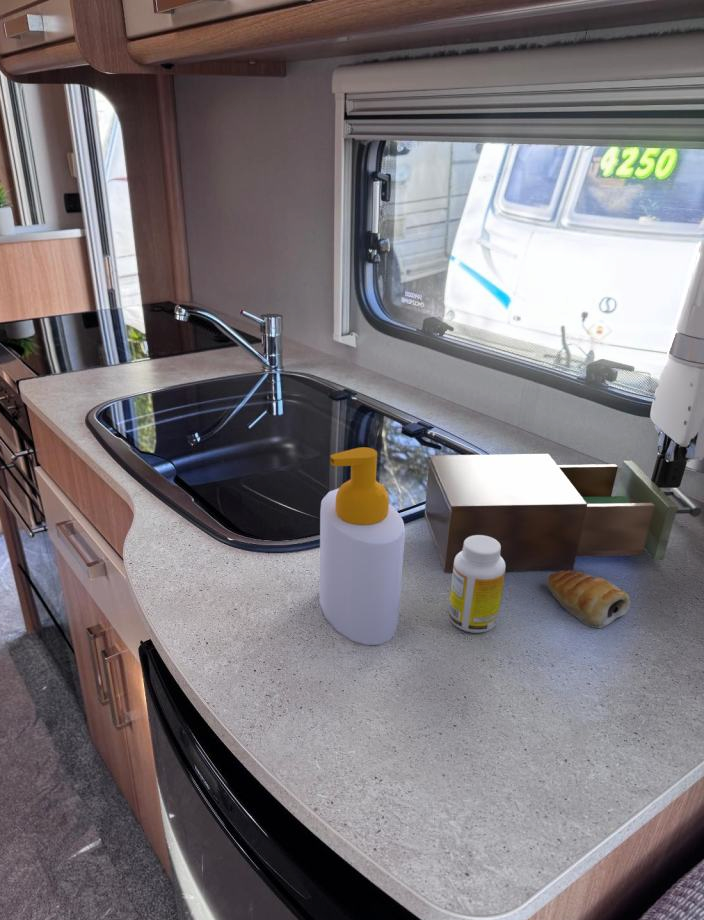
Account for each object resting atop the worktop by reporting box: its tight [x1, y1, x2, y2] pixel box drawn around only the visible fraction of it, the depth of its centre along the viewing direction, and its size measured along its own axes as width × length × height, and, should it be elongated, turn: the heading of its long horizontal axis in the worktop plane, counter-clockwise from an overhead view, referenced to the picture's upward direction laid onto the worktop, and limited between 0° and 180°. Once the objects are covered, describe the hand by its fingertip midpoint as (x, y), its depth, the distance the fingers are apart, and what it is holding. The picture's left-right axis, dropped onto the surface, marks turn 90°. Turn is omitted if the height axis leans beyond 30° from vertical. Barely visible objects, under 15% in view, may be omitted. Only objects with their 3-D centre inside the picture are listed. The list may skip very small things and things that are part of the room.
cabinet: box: [423, 453, 587, 574], centre depth 96 cm, size 17×15×10 cm
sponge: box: [582, 495, 630, 504], centre depth 97 cm, size 7×4×4 cm, turn 93°
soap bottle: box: [318, 446, 406, 646], centre depth 79 cm, size 13×8×20 cm, turn 20°
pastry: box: [547, 570, 631, 629], centre depth 85 cm, size 9×7×4 cm
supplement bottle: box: [448, 535, 506, 634], centre depth 80 cm, size 6×6×10 cm
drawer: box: [557, 460, 702, 561], centre depth 96 cm, size 21×13×8 cm, turn 93°
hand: (664, 484), depth 95 cm, fingers closed
